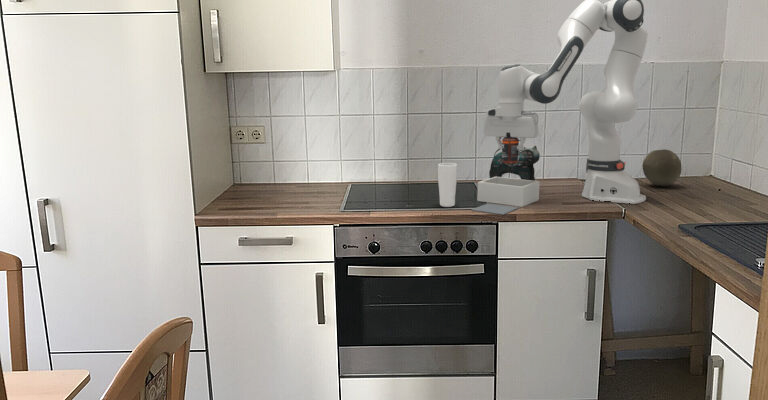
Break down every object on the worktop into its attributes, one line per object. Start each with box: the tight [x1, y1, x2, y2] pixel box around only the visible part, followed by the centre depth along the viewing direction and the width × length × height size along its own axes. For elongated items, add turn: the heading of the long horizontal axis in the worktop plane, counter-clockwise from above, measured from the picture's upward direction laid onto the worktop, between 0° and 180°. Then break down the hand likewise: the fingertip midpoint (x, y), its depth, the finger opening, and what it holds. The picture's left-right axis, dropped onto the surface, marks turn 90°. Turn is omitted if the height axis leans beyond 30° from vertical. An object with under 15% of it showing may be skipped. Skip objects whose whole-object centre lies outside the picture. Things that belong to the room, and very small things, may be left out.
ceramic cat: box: [488, 139, 541, 181], centre depth 247 cm, size 20×6×20 cm, turn 54°
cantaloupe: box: [642, 149, 683, 187], centre depth 248 cm, size 14×14×15 cm
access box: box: [476, 176, 541, 208], centre depth 228 cm, size 18×14×7 cm
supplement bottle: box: [501, 132, 520, 164], centre depth 224 cm, size 6×6×11 cm
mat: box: [471, 202, 520, 216], centre depth 214 cm, size 12×12×1 cm
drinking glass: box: [437, 162, 458, 208], centre depth 220 cm, size 7×7×15 cm
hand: (510, 149), depth 224 cm, fingers closed on supplement bottle, 6 cm apart
